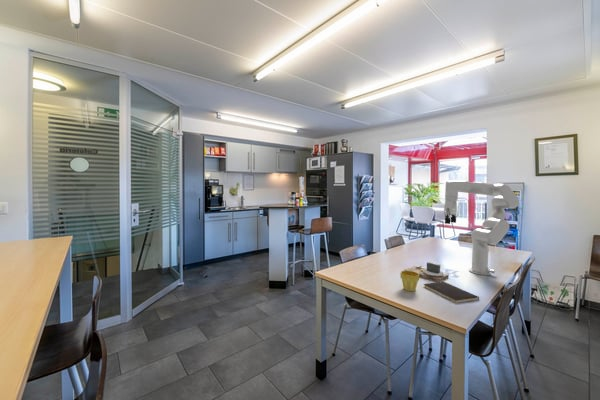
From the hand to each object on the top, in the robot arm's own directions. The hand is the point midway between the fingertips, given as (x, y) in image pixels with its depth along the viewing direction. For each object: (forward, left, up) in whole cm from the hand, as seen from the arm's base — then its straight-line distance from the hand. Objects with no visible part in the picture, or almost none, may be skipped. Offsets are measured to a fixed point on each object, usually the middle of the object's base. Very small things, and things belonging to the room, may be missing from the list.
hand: (450, 223), depth 176 cm
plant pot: (+3, +48, -36) cm, 60 cm away
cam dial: (+5, +15, -34) cm, 38 cm away
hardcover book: (-14, +34, -37) cm, 52 cm away
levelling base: (+9, +15, -36) cm, 40 cm away
